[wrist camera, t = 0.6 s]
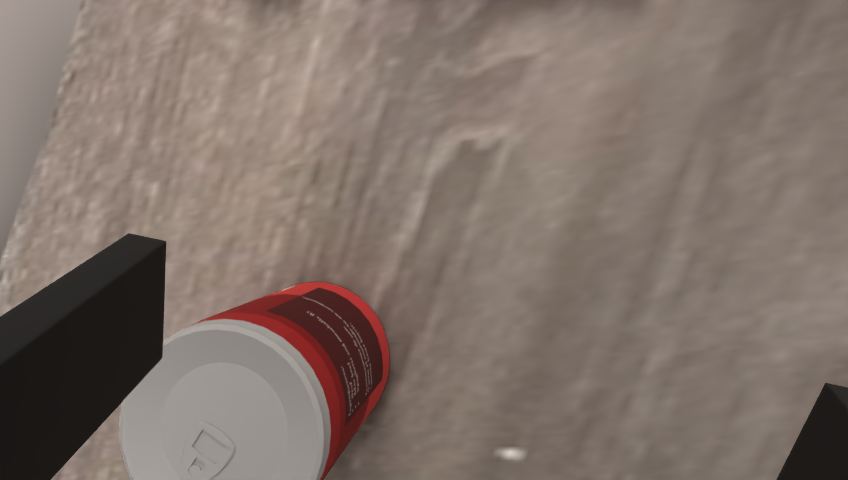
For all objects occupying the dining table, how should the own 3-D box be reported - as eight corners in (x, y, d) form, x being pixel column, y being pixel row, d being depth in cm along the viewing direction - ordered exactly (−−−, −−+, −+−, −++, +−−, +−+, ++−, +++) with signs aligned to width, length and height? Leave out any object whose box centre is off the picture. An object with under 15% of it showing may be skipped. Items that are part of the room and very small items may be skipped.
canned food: (233, 400, 34) (93, 498, 23) (273, 258, 33) (147, 290, 22) (367, 451, 33) (287, 580, 22) (413, 306, 32) (353, 365, 21)
